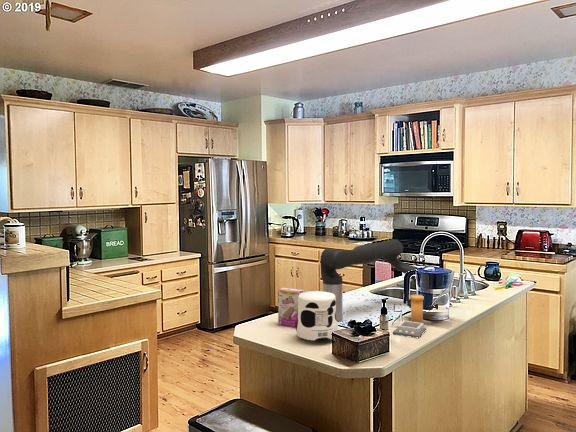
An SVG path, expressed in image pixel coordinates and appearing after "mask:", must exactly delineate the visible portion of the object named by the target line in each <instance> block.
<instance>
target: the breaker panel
mask: <svg viewBox="0 0 576 432" xmlns="http://www.w3.org/2000/svg"><path fill="white" fill-rule="evenodd" d="M396 326H397V327H396V329H394V330H393V331H392V335H393V336H394V335H395V336H401V335H403V337H407V336H411V337H410V338H413V337H418V338H417V339H420V338H421V337H422V336H421V334H422V333H423V332H424V331H425V330H426V331H427V327H425V323H418V322H411V320H402V321H401V322H400V323H399V324H398V325H396ZM426 331H425V332H426ZM425 332H424V333H425ZM420 336H421V337H420ZM419 337H420V338H419Z"/></svg>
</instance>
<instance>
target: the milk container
mask: <svg viewBox="0 0 576 432" xmlns="http://www.w3.org/2000/svg"><path fill="white" fill-rule="evenodd" d="M337 330H338V331H339V325H338V321H337V320H336V297H335V295H334V294H333V293H329V292H323V290H322V291H320V290H315V291H314V290H313V291H312V290H311V291H304V292H303V293H300V294H299V296H298V318H297V322H296V328H295V332H296V335H297V337H298V338H299V339H301V340H303V341H306V342H312V343H322V342H323V343H324V342H328V341H329V342H330V341H332V340H333V339H332V336H331V334H332V332H334V331H337Z"/></svg>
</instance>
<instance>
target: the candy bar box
mask: <svg viewBox="0 0 576 432" xmlns="http://www.w3.org/2000/svg"><path fill="white" fill-rule="evenodd" d="M277 291H278V292H277V295H278V303H277V304H278V307H277V308H278V310H277V311H278V313H277V315H278V317H277V318H278V323H277V324H278V325H279V326H285V327H290V328H295V329H296V322H297V318H298V296H299V294H300V293H303V292H305V290H304V289H296V288H290V287H281V288H279V289H278V290H277Z"/></svg>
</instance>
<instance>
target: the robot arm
mask: <svg viewBox="0 0 576 432" xmlns="http://www.w3.org/2000/svg"><path fill="white" fill-rule="evenodd" d="M403 251H404V245H403V244H402V243H401V241H399V240H398V239H393V238H392V239H388V240H385V241H380V242H374V243H368V244H367V243H366V244H361V245H356V246H355V247H353V249H348V250H346V249H345V250H343V249H336V248H330V247H329V248H328V247H327V248H324V250H323V251H321V254H320V261H319V262H320V277H321V279H322V291H323V292H329V293H333V294H334V295H335V297H336V320H337V322H341V321H342V320H343V277H342V275H340V274H339V273H338V271H337V270H342V269H344V268H348V267H350V266H351V267H352V266H357V265H364V264H365V265H366V264H370V263H374V262H376V261H378V260H380V259H381V258H382V259H383V260H384V261H385V262H387V263H388V264H389V265H391V266H393V267H394V268H395V269H396V270H398V271H400V272H401V273H403V274H404V275H406V274H405V273H406V272H408V271H411V270H414V269H416V268H418V267H417V266H414V265H412V264H408V263H406V262H403V261H401V260H400V259H398V257H399V256H401V254H402V253H403ZM410 279H411V281H412V282H414V283H415V284H416V279H415V276H412V277H411V278H410ZM406 306H408V308H409V309H411V299H410V298H409V299H407V300H406ZM434 306H435V307H434ZM434 306H433V305H432V306H431V305H429V306H428V309H427V311H433V310H434V309H435V308H436V309H435V310H439V309H438V304H436V305H434ZM433 308H434V309H433Z"/></svg>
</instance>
